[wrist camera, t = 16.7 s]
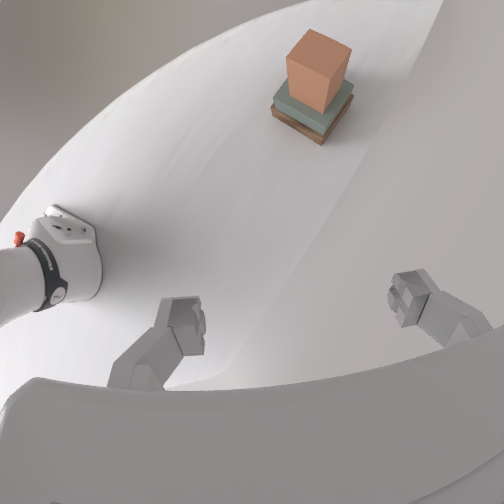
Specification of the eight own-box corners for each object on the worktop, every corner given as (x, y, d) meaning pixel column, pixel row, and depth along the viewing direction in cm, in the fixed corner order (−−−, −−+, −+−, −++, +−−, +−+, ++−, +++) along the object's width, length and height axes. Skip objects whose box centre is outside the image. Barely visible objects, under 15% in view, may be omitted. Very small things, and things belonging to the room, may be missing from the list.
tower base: (272, 116, 41) (270, 107, 38) (302, 77, 40) (302, 65, 36) (321, 146, 41) (323, 139, 37) (349, 105, 39) (354, 95, 35)
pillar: (289, 95, 33) (285, 57, 23) (308, 70, 32) (309, 28, 22) (322, 114, 33) (329, 79, 23) (340, 87, 32) (351, 49, 22)
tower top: (275, 108, 37) (272, 97, 34) (303, 70, 36) (303, 57, 32) (323, 135, 37) (325, 127, 33) (349, 96, 35) (353, 84, 32)
